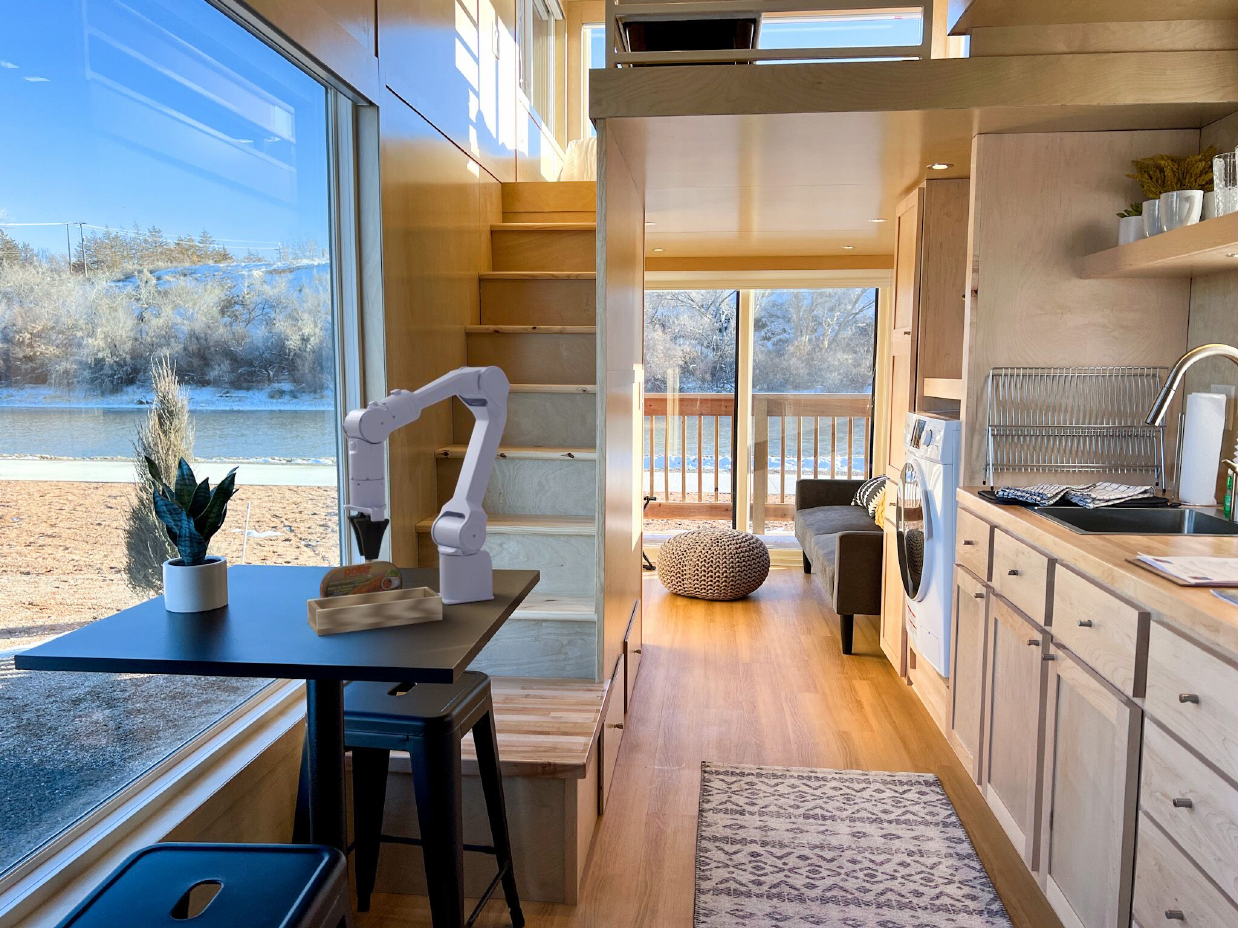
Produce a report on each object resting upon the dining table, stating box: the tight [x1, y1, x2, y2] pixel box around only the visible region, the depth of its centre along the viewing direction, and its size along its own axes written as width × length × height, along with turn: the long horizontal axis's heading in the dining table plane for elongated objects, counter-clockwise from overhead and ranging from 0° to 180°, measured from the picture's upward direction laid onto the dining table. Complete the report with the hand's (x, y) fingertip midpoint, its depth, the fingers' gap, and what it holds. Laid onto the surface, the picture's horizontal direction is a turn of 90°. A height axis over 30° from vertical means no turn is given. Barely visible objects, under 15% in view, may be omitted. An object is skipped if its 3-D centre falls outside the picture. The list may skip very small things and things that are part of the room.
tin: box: [319, 560, 404, 598], centre depth 160 cm, size 15×3×8 cm, turn 132°
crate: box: [306, 586, 443, 636], centre depth 152 cm, size 21×9×4 cm, turn 119°
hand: (368, 557), depth 154 cm, fingers open, 3 cm apart
